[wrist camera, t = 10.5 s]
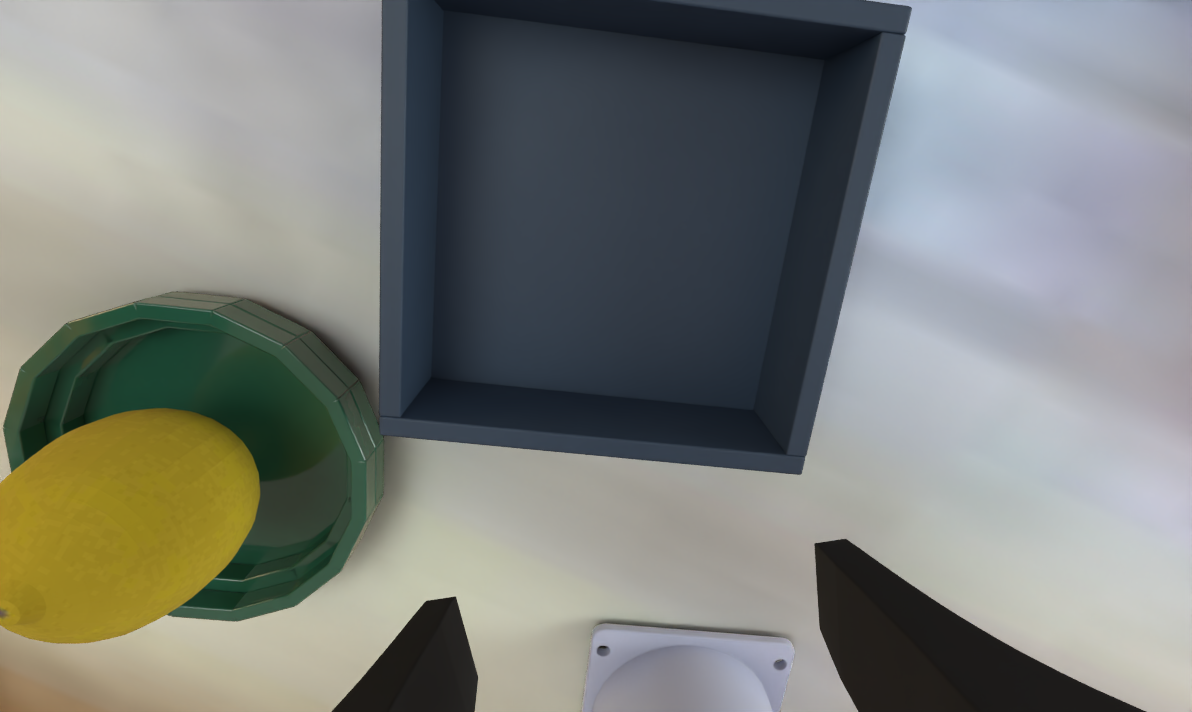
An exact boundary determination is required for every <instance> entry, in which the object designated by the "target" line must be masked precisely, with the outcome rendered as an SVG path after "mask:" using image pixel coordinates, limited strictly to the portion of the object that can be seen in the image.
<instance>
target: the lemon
mask: <svg viewBox="0 0 1192 712" xmlns="http://www.w3.org/2000/svg"><path fill="white" fill-rule="evenodd" d="M259 499H260V483H259V473H258V470H257V467H256V464H255V462H254V459H253V456H252V454H251V453H250V451H249V450H248V448H247V447H246V445H245V444H244V442H243V441H242V440H241V439H240V438H239V437H238V436H237V435H236V434H234V433H233V432H232V431H231V430H230V429H229V428H227V427H225V426H224V425H222V424H220V423H219V422H217V421H215V420H214V419H212V418H209V417H206V416H203V415H200V414H198V413H195V412H191V411H185V410H177V409H169V408H153V409H143V410H134V411H127V412H122V413H118V414H114V415H111V416H108V417H106V418H103V419H100V420H97V421H95V422H92V423H89V424H86V425H84V426H81V427H79V428H76V429H74V430H72V431H70V432H68V433H66V434H64V435H62V436H60V437H59V438H57V439H55V440H54V441H52V442H51V443H49V444H48V445H46V446H45V447H44V448H42V449H41V450H40V451H38V452H37V453H36V454H34V455H33V456H32V457H31V458H29V459H28V460H27V461H25V462H24V463H23V464H22V465H20V466H19V467H18V468H16V469H15V470H14V471H13V472H12V473H11V474H10V475H8V476H7V477H6V478H5V479H4V480H3V481H2V482H1V483H0V625H1V626H3V627H4V628H6V629H7V630H9V631H12V632H14V633H17V634H19V635H22V636H24V637H27V638H29V639H34V640H39V641H44V642H50V643H90V642H95V641H100V640H105V639H110V638H114V637H118V636H122V635H125V634H127V633H130V632H132V631H134V630H137V629H139V628H141V627H143V626H145V625H147V624H149V623H151V622H153V621H155V620H157V619H159V618H161V617H163V616H165V615H166V614H168V613H170V612H172V611H173V610H175V609H176V608H178V607H179V606H181V605H182V604H184V603H185V602H187V601H188V600H189V599H191V598H192V597H193V596H194V595H196V594H197V593H198V592H199V591H200V590H202V589H203V588H204V587H205V586H206V585H207V584H208V583H209V582H210V581H211V580H213V579H214V578H215V577H216V576H217V575H218V574H219V573H220V572H221V571H222V570H223V569H224V568H225V567H226V566H227V565H228V564H229V562H230V561H231V560H232V559H233V557H234V556H235V555H236V553H237V552H238V550H239V548H240V547H241V545H242V543H243V542H244V540H245V538H246V536H247V535H248V533H249V531H250V530H251V528H252V526H253V523H254V521H255V517H256V513H257V508H258V504H259Z"/></svg>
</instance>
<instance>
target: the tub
mask: <svg viewBox="0 0 1192 712" xmlns="http://www.w3.org/2000/svg"><path fill="white" fill-rule="evenodd" d="M911 10H912V8H911V7H909V6H903V5H895V4H888V3H880V2H873V1H866V0H382V72H381V212H380V352H379V415H380V417H379V434H380V435H385V436H395V437H406V438H417V439H427V440H438V441H448V442H459V443H469V444H480V445H491V446H501V447H512V448H522V449H533V450H543V451H554V452H565V453H575V454H586V455H596V456H607V457H617V458H628V459H639V460H649V461H660V462H670V463H681V464H691V465H702V466H713V467H723V468H734V469H744V470H755V471H765V472H776V473H786V474H797V475H801V474H802V470H803V466H804V461H805V457H804V456H806V454H807V450H808V446H809V442H810V437H811V433H812V429H813V425H814V420H815V416H816V412H817V408H818V404H819V399H820V395H821V391H822V387H823V383H824V378H825V374H826V370H827V366H828V361H829V357H830V353H831V349H832V345H833V340H834V336H835V332H836V328H837V324H838V319H839V315H840V311H841V307H842V302H843V298H844V294H845V290H846V286H847V281H848V277H849V273H850V269H851V265H852V260H853V256H854V252H855V248H856V243H857V239H858V235H859V231H860V227H861V222H862V218H863V214H864V210H865V206H866V201H867V197H868V193H869V189H870V184H871V180H872V176H873V172H874V168H875V163H876V159H877V155H878V151H879V147H880V142H881V138H882V134H883V130H884V125H885V121H886V117H887V113H888V109H889V104H890V100H891V96H892V92H893V88H894V83H895V79H896V75H897V71H898V66H899V62H900V58H901V54H902V50H903V45H904V41H905V35H904V34H905V33H906V31H907V27H908V23H909V19H910V14H911Z"/></svg>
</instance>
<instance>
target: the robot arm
mask: <svg viewBox="0 0 1192 712" xmlns="http://www.w3.org/2000/svg"><path fill="white" fill-rule="evenodd" d="M815 559H816V575H817V591H818V608H819V624H820V630H821V633H822V635H823V638H824V640H825V642H826V645H827V647H828V650H829V652H830V655H831V657H832V660H833V662H834V664H835V667H836V669H837V671H838V674H839V676H840V678H841V680H842V682H843V684H844V686H845V688H846V690H847V692H848V693H849V695H850V697H851V699H852V701H853V702H854V704H855V706H856V708H857V710H858V712H1146V711H1143V710H1141V709H1139V708H1136V707H1134V706H1132V705H1130V704H1127V703H1125V702H1123V701H1121V700H1118V699H1116V698H1114V697H1112V696H1109V695H1107V694H1105V693H1103V692H1100V691H1098V690H1096V689H1094V688H1092V687H1089V686H1087V685H1085V684H1083V683H1081V682H1079V681H1077V680H1075V679H1073V678H1071V677H1069V676H1066V675H1064V674H1062V673H1060V672H1059V671H1057V670H1055V669H1053V668H1051V667H1049V666H1047V665H1045V664H1043V663H1041V662H1039V661H1037V660H1035V659H1033V658H1031V657H1030V656H1028V655H1026V654H1024V653H1022V652H1020V651H1018V650H1016V649H1014V648H1013V647H1011V646H1009V645H1007V644H1005V643H1004V642H1002V641H1000V640H998V639H997V638H995V637H993V636H991V635H990V634H988V633H986V632H985V631H983V630H981V629H980V628H978V627H976V626H975V625H973V624H971V623H970V622H968V621H966V620H965V619H963V618H961V617H960V616H958V615H957V614H955V613H953V612H952V611H950V610H949V609H947V608H945V607H944V606H942V605H941V604H939V603H938V602H936V601H935V600H933V599H932V598H930V597H929V596H927V595H926V594H924V593H923V592H921V591H920V590H918V589H917V588H915V587H914V586H912V585H911V584H909V583H908V582H906V581H905V580H903V579H902V578H901V577H899V576H898V575H896V574H895V573H893V572H892V571H891V570H889V569H888V568H886V567H885V566H883V565H882V564H881V563H879V562H878V561H876V560H875V559H874V558H872V557H871V556H869V555H868V554H867V553H865V552H864V551H862V550H861V549H860V548H858V547H857V546H855V545H854V544H852V543H851V542H850V541H848V540H847V539H841V540H835V541H828V542H821V543H815ZM603 645H604V646H607V648H604V649H601V648H598V647H600V646H603ZM794 655H795V650H794V648H793V646H792V644H791V642H790V641H789V640H788V639H786V638H782V637H770V636H757V635H745V634H732V633H720V632H708V631H695V630H683V629H670V628H658V627H645V626H633V625H621V624H608V623H604V624H599V625H597V626H596V627H595V628H594V629H593V631H592V634H591V641H590V649H589V656H588V664H587V671H586V679H585V686H584V693H583V701H582V708H581V712H780V709H781V705H782V702H783V698H784V694H785V690H786V686H787V682H788V678H789V675H790V671H791V667H792V663H793V659H794ZM781 659H782V660H781ZM777 660H781V661H780V662H775V661H777ZM477 683H478V675H477V672H476V668H475V664H474V661H473V657H472V654H471V650H470V646H469V643H468V639H467V635H466V632H465V628H464V625H463V621H462V617H461V614H460V610H459V606H458V603H457V599H456V597H450V598H443V599H437V600H430V601H426V602H425V603H424V604H423V605H422V606H421V608H420V609H419V610H418V611H417V612H416V614H415V615H414V616H413V617H412V618H411V620H410V621H409V622H408V623H407V624H406V626H405V627H404V628H403V629H402V631H401V632H400V633H399V634H398V636H397V637H396V638H395V639H394V640H393V642H392V643H391V644H390V645H389V647H388V648H387V649H386V650H385V651H384V653H383V654H382V655H381V656H380V657H379V658H378V660H377V661H376V662H375V663H374V664H373V666H372V667H371V668H370V669H369V670H368V671H367V673H366V674H365V675H364V676H363V677H362V679H361V680H360V681H359V682H358V683H357V684H356V686H355V687H354V688H353V689H352V690H351V691H350V692H349V693H348V694H347V695H346V696H345V698H344V699H343V700H342V701H341V702H340V703H339V704H338V705H337V706H336V707H335V708H334V710H333V711H332V712H474V711H475V703H476V693H477Z"/></svg>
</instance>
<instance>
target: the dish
mask: <svg viewBox="0 0 1192 712" xmlns="http://www.w3.org/2000/svg"><path fill="white" fill-rule="evenodd" d="M153 408H169V409H177V410H185V411H191V412H195V413H198V414H200V415H203V416H206V417H209V418H212V419H214V420H215V421H217V422H219V423H220V424H222V425H224V426H225V427H227V428H229V429H230V430H231V431H232V432H233V433H234V434H236V435H237V436H238V437H239V438H240V439H241V440H242V441H243V442H244V444H245V445H246V447H247V448H248V450H249V451H250V453H251V454H252V456H253V459H254V462H255V464H256V467H257V470H258V473H259V483H260V499H259V504H258V508H257V513H256V517H255V521H254V523H253V526H252V528H251V530H250V531H249V533H248V535H247V536H246V538H245V540H244V542H243V543H242V545H241V547H240V548H239V550H238V552H237V553H236V555H235V556H234V557H233V559H232V560H231V561H230V562H229V564H228V565H227V566H226V567H225V568H224V569H223V570H222V571H221V572H220V573H219V574H218V575H217V576H216V577H215V578H214V579H213V580H211V581H210V582H209V583H208V584H207V585H206V586H205V587H204V588H203V589H202V590H200V591H199V592H198V593H197V594H196V595H194V596H193V597H192V598H191V599H189V600H188V601H187V602H185V603H184V604H182V605H181V606H179V607H178V608H176V609H175V610H173V611H172V612H170V613H168V614H166V615H168V616H172V617H183V618H196V619H209V620H222V621H241V620H245V619H249V618H252V617H256V616H260V615H264V614H268V613H272V612H275V611H279V610H283V609H287V608H291V607H294V606H296V605H298V604H299V603H300V602H302V601H303V600H304V599H306V598H307V597H308V596H310V595H311V594H312V593H313V592H315V591H316V590H317V589H319V588H320V587H321V586H323V585H324V584H325V583H327V582H328V581H329V580H331V579H332V578H333V577H335V576H336V575H337V574H338V573H340V572H341V570H342V569H343V568H344V566H345V564H346V563H347V561H348V560H349V558H350V556H351V555H352V553H353V552H354V550H355V548H356V547H357V545H358V544H359V542H360V540H361V538H362V536H363V534H364V532H365V530H366V529H367V527H368V525H369V523H370V521H371V519H372V517H373V515H374V513H375V511H376V509H377V507H378V505H379V503H380V501H381V499H382V497H383V485H384V439H383V438H384V436H383V435H380V434H379V424H378V422H377V420H376V417H375V415H374V413H373V410H372V408H371V406H370V404H369V401H368V399H367V397H366V394H365V392H364V390H363V387H362V385H361V383H360V381H358V378H357V377H356V376H355V375H354V374H353V373H352V372H351V371H350V370H349V369H348V368H347V367H346V366H345V365H344V364H343V363H342V362H341V361H340V360H339V359H338V358H337V357H336V356H335V355H334V353H333V352H332V351H331V350H330V349H329V348H328V347H327V346H326V345H325V344H324V343H323V342H322V341H321V340H320V339H319V338H318V337H317V336H316V335H315V334H314V333H313V332H312V331H310V330H308V329H306V328H304V327H302V326H300V325H298V324H296V323H294V322H292V321H290V320H288V319H286V318H284V317H282V316H280V315H278V314H276V313H274V312H272V311H270V310H268V309H265V308H263V307H261V306H259V305H257V304H255V303H253V302H251V301H249V300H245V299H243V298H235V297H226V296H216V295H206V294H197V293H187V292H178V291H177V292H169V293H166V294H162V295H158V296H155V297H151V298H147V299H144V300H140V301H136V302H133V303H129V304H126V305H123V306H120V307H116V308H113V309H110V310H106V311H103V312H100V313H96V314H93V315H90V316H87V317H83V318H80V319H77V320H73V321H70V322H68V323H66V324H65V325H64V326H63V327H62V328H61V329H60V330H59V331H58V332H57V333H55V334H54V335H53V336H52V337H51V338H50V339H49V340H48V341H47V342H46V343H45V344H44V345H43V346H42V347H41V348H40V349H39V350H38V351H37V352H36V353H35V354H34V355H33V356H32V357H31V358H30V359H29V360H28V361H27V362H26V363H24V364H23V365H22V366H21V369H20V370H19V373H18V377H17V380H16V384H15V387H14V391H13V394H12V397H11V401H10V404H9V408H8V411H7V415H6V418H5V421H4V425H3V427H4V428H3V432H4V437H5V442H6V447H7V453H8V458H9V463H10V468H11V473H12V472H13V471H14V470H15V469H16V468H18V467H19V466H20V465H22V464H23V463H24V462H25V461H27V460H28V459H29V458H31V457H32V456H33V455H34V454H36V453H37V452H38V451H40V450H41V449H42V448H44V447H45V446H46V445H48V444H49V443H51V442H52V441H54V440H55V439H57V438H59V437H60V436H62V435H64V434H66V433H68V432H70V431H72V430H74V429H76V428H79V427H81V426H84V425H86V424H89V423H92V422H95V421H97V420H100V419H103V418H106V417H108V416H111V415H114V414H118V413H122V412H127V411H134V410H143V409H153Z"/></svg>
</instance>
